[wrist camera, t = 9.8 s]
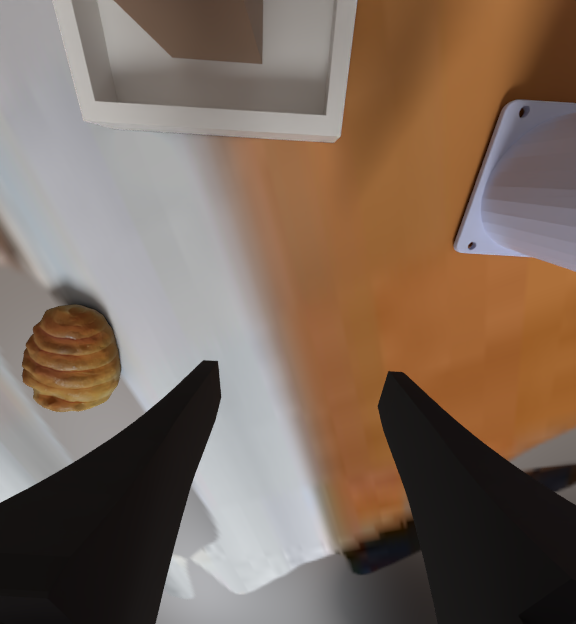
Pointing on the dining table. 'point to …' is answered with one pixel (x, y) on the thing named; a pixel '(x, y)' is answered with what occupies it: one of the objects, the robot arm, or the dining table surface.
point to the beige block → (202, 27)
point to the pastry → (71, 359)
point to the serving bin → (213, 74)
